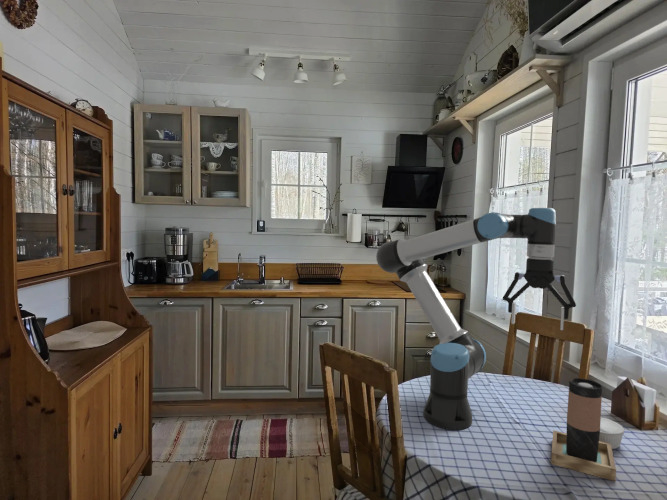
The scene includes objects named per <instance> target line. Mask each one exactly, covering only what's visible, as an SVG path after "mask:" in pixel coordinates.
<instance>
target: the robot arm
mask: <svg viewBox="0 0 667 500" xmlns="http://www.w3.org/2000/svg"><path fill="white" fill-rule="evenodd" d="M556 213H557V212H556V210H555V209H554V208H552V207H534V208H532V207H531V208H529V210H528V212H527V213H526V214H507V213H506V214H505V213H500V212H494V211H493V212H489V213H485V214H483V215H482V216H480V217H478V218H474V219H471V220H467V221H464V222H461V223H458V224H454V225H451V226H448V227H445V228H442V229H439V230H435V231H433V232H428V233H425V234H422V235H419V236H416V237H411V238H410V239H404V238H400V239H395V240H391V241H386V242H384V243H383V244H381V245H380V246H379V247H378V249H377V251H376V255H375V256H376V257H375V258H376V263H377V265H378V266H379V268H380V269H381V270H383V272H387V273H390V274H394V273H395V274H396V275H397V277H398V279H399V280H400V282H403V283H406V285H407V286H408V288H409V289H410V291H411V293H412V295H413V296H414V299H415V301H417V303H418V305H419V306H420V308H421V310H422V312H423V314H424V315H425V317H426V319H427V321H428V322H429V324H430V325H431V327H432V329H433V331H434V332H435V334H436V335H437V338H438V340H439V344H437V345H434V347H433V348H432V350H431V355H430V376H429V377H430V378H429V379H430V380H429V382H430V383H429V386H430V387H429V394H428V397H427V400H426V402H425V404H424V407H423V418H424V419H425V421H426V422H428V423H429V424H430V425H432V426H435V427H438V428H440V429H445V430H454V431H455V430H464V429H468V428H469V427H470V426H471V425H472V424H473V412H472V408H471V406H470V402H469V399H468V392H469V391H468V388H469V387H468V386H469V385H468V384H469V379H470V378H472V377H473V376H475V375H476V374H479V372H481V370H482V369H483V367H484V365H486V362H487V354H486V350H485V348H484V346H483V345H482V343H481V342H480V341H479V340H477V339H474V338H473V337H472V335H471V334H470V332H469V331H468V330H465V329H463V328H462V327H461V326H460V324H459V323H458V321H457V320H456V317H455V316H454V313H452V311H451V309H450V308H449V306H448V304H447V302H446V301H445V299H444V298H443V296H442V295H441V293H440V291H439V290H438V287H437V286H436V284H435V283H434V281H433V279H432V278H431V277H430V275H429V273H428V271H427V270H428V264H427V262H426V260H425V259H427V258H430V257H433V256H438V255H441V254H445V253H448V252H451V251H455V250H458V249H463V248H467V247H470V246H474V245H477V244H481V243H485V242H488V241H492V240H497V239H527V244H526V256H527V257H528V258H527V259H526V266H525V272H524V273H522V272H519V271H516V272H515V273H514V276H513V280H512V282H511V283H510V285H509V287H508V288H507V290H506V291H505V293H504V295H503V297H502V300H503V301H505V302H507V303H508V308H507V311H508V313H510V314H511V321H510V322H511V325H514V324H515V323H516V306H517V305H516V304H517V302H515V300H517V298H519V297H520V296H521V295H522V294H523V293H524V292H525V291H526V290H527V289H528V288H529V287H531V288H533V289H541V290H543V289H544V290H545V289H548V291H550V292H551V293H552V295H553V296H554V297H555V299H557V300H558V302H559V303H560V304H561V305H562V307H561V311H560V328H559V329H560V331H564V323H565V321H564V320H568V319H569V310H570V309H572V308H575V307H576V306H577V303H576V301H575V299H574V297H573V295H572V293H571V291H570V289H569V287H568V286H567V283H566V277H565V275H564V274H560V275H555V274H554V265H555V261H554V259H553V258H554V257H555V243H556V241H555V240H556V227H557V226H556V225H557V222H556V221H557V217H556ZM522 278H524V280H525V281H526V283H525V284H524V285H523V286H522V287H520V288H519V289H518V290H517V291H516V292H515V293H514V294H513V295H512V296H511V297H509V296H510V295H511V293H512V291H513V290H514V289H515V287H516V285H517V283H518V282H519V281H520V280H522ZM555 280H556V281H557V282H558V283H559V284H560V286H561V288H562V290H563V291H564V294H565V296H566V298H567V300H568V302H567V301H566V299H564V298H563V296H562V295H561V293H559V291H557V289H556V287H554V285H553V284H552V283H553V282H554V281H555Z"/></svg>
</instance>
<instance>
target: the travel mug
mask: <svg viewBox="0 0 667 500" xmlns="http://www.w3.org/2000/svg"><path fill="white" fill-rule="evenodd" d="M568 383H569V384H568V394H567V395H568V396H567V397H568V398H567V413H566V433H567V437H566V452H567V454H568V455H569V456H573V457H577V458H581V459H584V460H588V461H592V462H596V461H597V456H598V446H599V435H600V421H601V417H602V416H601V415H602V397H603V394H602V393H603V386H602V385H601V384H600V383H598V382H597V381H594V380H591V379H586V378H577V377H576V378H573V380H569V381H568Z"/></svg>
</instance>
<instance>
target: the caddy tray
mask: <svg viewBox="0 0 667 500" xmlns="http://www.w3.org/2000/svg"><path fill="white" fill-rule="evenodd" d="M566 437H567V432H566V433H565V432H562V431H557V430H554V429H553V430H552V441H551V442H552V443H551V460H550V461H551V462H550V464H551V465H554V466H557V467H562V468H565V469H568V470H573V471H575V472H580V473H583V474H587V475H590V476H595V477H598V478H602V479H605V480H609V481H613V482H616V480H617V479H616V475H617V474H616V473H617V468H616V463H615V458H614V454H613V449H612V447H611V444H609V443H605V442H601V441H599V446H598V456H597V461H596V462H592V461H588V460H584V459H581V458H577V457H573V456H569V455H568V454H567V452H566Z"/></svg>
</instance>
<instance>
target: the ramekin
mask: <svg viewBox="0 0 667 500" xmlns="http://www.w3.org/2000/svg"><path fill="white" fill-rule="evenodd" d="M624 433H625V429H624V427H623V426H622V424H619V423H618V422H616V421H614V420H611V419H610V418H607V417H602V416H601V421H600V435H599V441H601V442H605V443H609V444H611V447H612V450H615V449H617V448H619V447H620V445H621V444H622V440H623V435H624Z"/></svg>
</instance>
